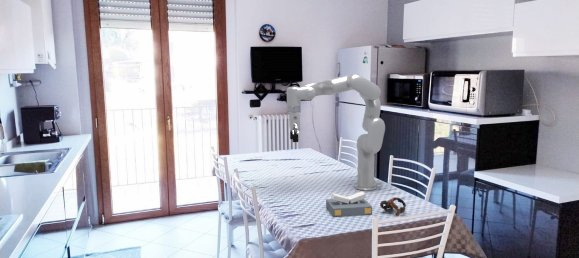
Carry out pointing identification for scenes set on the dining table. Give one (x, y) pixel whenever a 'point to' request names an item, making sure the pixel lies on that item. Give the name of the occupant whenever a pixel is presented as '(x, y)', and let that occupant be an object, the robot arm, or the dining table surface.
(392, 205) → the brown looped piece
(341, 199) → the rocker
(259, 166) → the dining table surface
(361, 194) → the rocker
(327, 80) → the robot arm
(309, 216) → the dining table surface
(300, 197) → the dining table surface
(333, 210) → the switch unit
